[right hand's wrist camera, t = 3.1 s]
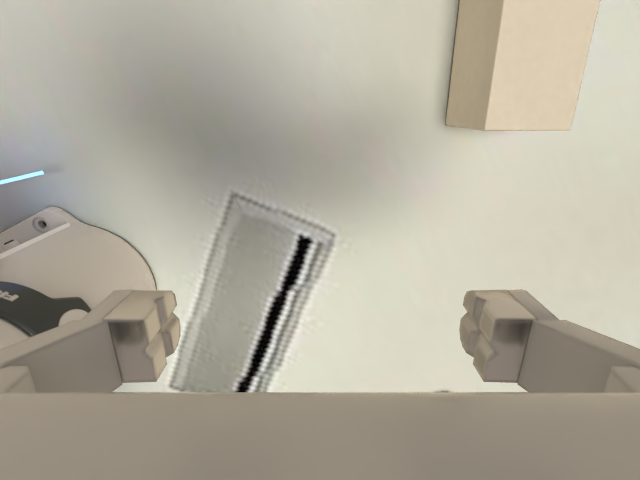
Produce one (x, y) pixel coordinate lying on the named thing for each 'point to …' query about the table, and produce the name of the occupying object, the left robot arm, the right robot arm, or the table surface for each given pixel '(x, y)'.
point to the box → (519, 63)
